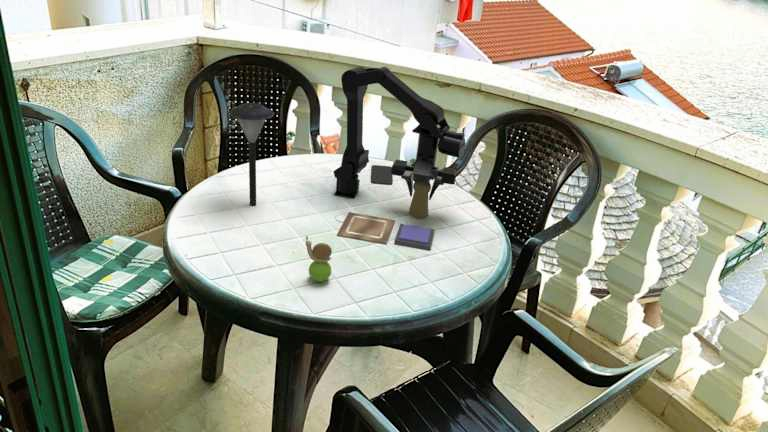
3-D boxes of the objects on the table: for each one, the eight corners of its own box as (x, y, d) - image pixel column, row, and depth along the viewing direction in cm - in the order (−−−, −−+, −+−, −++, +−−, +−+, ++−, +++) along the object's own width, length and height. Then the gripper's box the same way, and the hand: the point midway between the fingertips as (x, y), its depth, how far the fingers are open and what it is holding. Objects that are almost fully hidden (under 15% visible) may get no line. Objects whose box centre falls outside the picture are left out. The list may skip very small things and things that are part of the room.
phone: (392, 166, 205) (392, 183, 191) (392, 168, 205) (392, 186, 192) (371, 164, 204) (370, 182, 191) (371, 166, 205) (370, 184, 191)
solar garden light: (270, 194, 177) (271, 99, 163) (277, 213, 167) (277, 113, 153) (229, 196, 173) (226, 99, 159) (233, 215, 163) (230, 114, 149)
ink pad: (394, 244, 158) (394, 238, 157) (400, 227, 167) (400, 221, 166) (430, 250, 157) (430, 245, 156) (434, 233, 166) (434, 227, 165)
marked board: (336, 235, 159) (336, 234, 159) (348, 213, 171) (349, 211, 171) (386, 244, 157) (386, 242, 157) (395, 221, 170) (395, 219, 169)
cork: (428, 210, 178) (433, 178, 172) (427, 220, 172) (432, 186, 167) (409, 208, 178) (413, 175, 173) (407, 217, 172) (412, 184, 167)
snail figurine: (304, 273, 142) (306, 230, 136) (330, 273, 142) (333, 232, 137) (303, 285, 137) (305, 242, 131) (330, 286, 138) (333, 243, 132)
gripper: (390, 154, 159) (385, 204, 166) (457, 164, 157) (449, 215, 164) (397, 140, 169) (391, 188, 176) (460, 150, 167) (452, 198, 174)
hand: (420, 197), depth 172 cm, fingers open, 5 cm apart
